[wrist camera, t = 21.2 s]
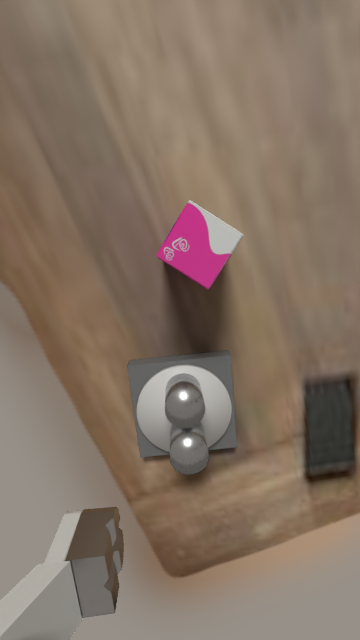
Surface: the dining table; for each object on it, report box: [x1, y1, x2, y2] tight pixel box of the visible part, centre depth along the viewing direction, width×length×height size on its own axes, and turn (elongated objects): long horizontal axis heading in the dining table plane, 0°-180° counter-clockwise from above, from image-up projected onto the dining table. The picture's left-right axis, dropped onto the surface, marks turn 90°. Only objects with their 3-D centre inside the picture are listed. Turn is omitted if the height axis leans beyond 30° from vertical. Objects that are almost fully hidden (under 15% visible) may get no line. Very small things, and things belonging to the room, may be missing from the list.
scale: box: [127, 350, 237, 457], centre depth 41 cm, size 13×14×4 cm
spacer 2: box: [170, 422, 209, 474], centre depth 38 cm, size 4×4×5 cm
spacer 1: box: [165, 373, 205, 428], centre depth 36 cm, size 4×4×5 cm
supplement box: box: [156, 200, 243, 289], centre depth 32 cm, size 6×6×12 cm
